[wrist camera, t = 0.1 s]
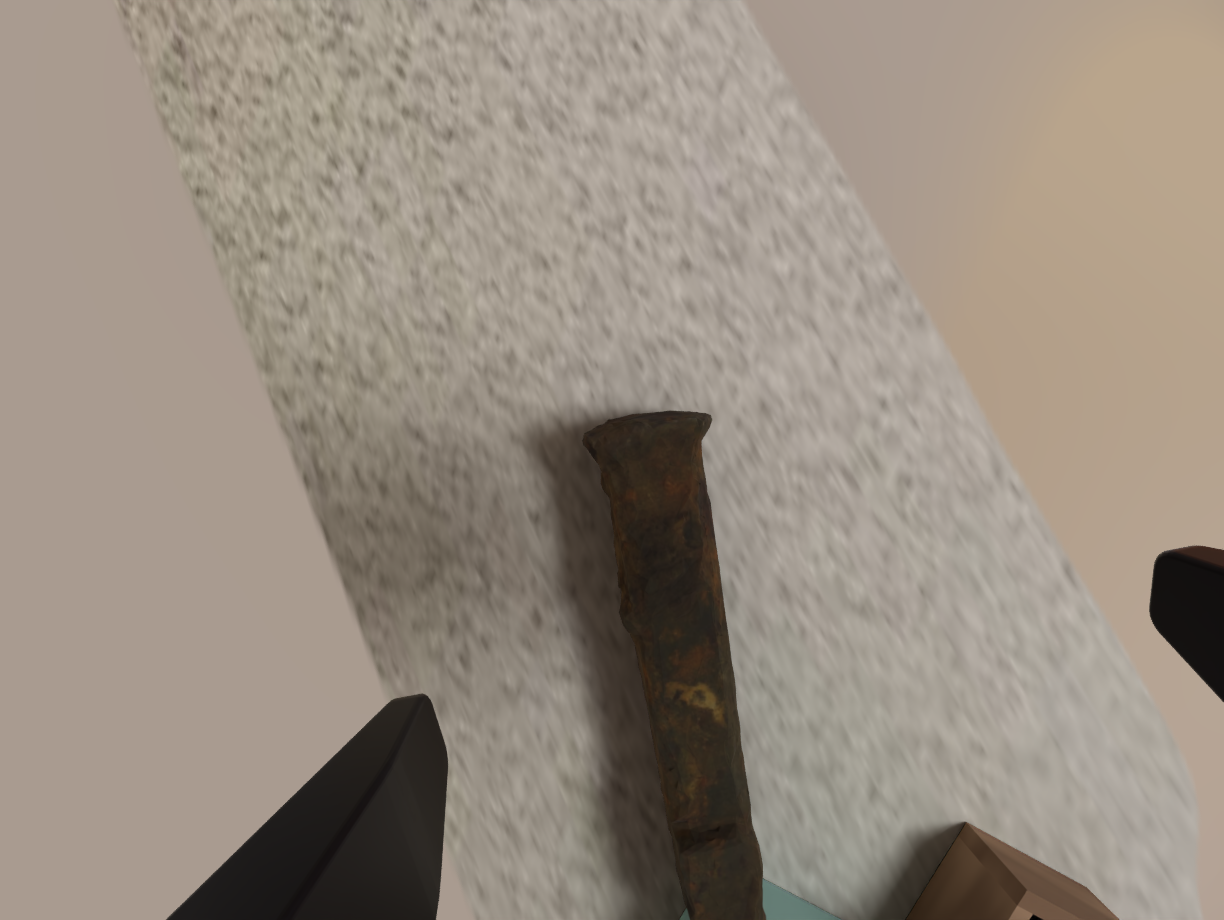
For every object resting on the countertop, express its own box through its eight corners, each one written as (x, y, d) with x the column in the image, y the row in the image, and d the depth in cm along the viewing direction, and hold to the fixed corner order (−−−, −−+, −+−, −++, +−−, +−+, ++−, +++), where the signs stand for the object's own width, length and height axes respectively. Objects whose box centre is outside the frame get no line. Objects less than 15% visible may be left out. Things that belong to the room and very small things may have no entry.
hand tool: (583, 419, 23) (579, 422, 19) (698, 405, 23) (724, 406, 19) (644, 930, 25) (655, 1051, 20) (751, 916, 25) (787, 1034, 20)
